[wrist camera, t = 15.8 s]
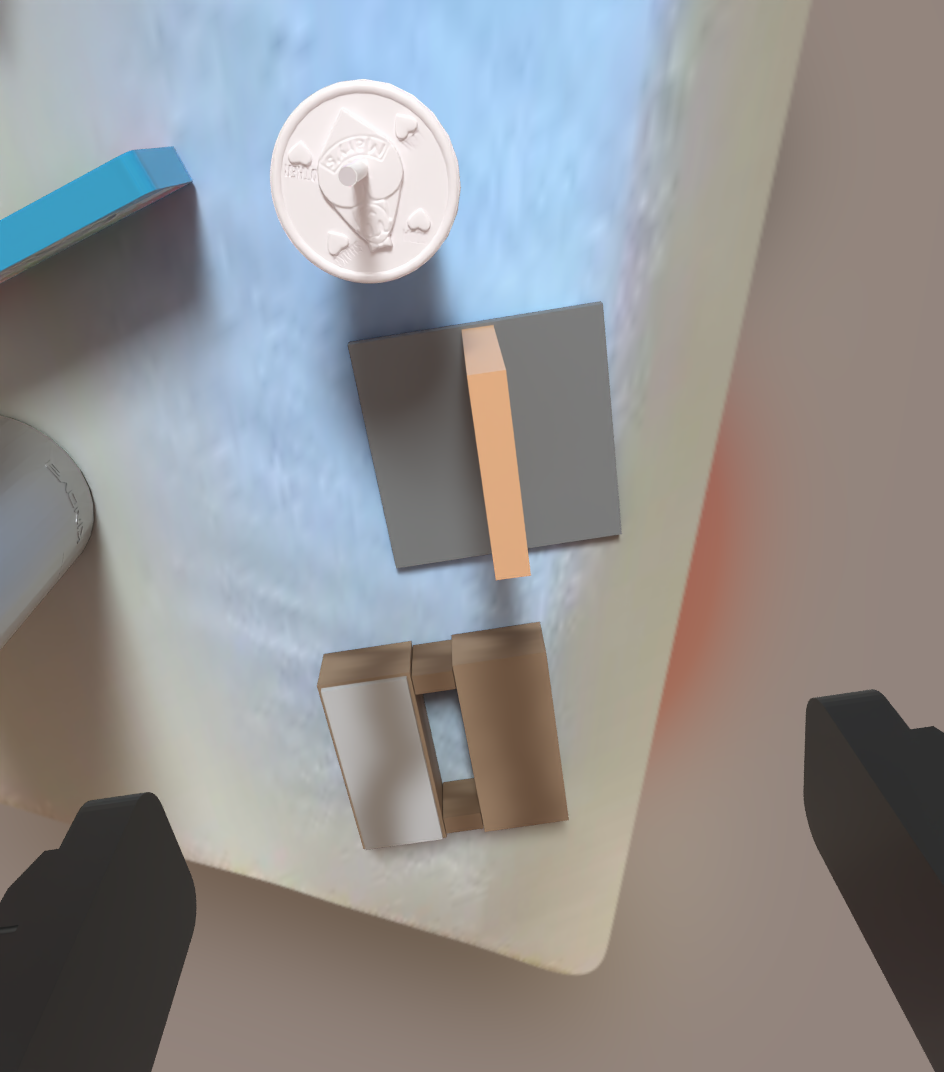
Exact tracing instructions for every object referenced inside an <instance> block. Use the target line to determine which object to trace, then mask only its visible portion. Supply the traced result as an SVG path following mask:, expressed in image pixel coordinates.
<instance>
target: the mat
mask: <svg viewBox="0 0 944 1072" xmlns="http://www.w3.org/2000/svg"><path fill="white" fill-rule="evenodd" d="M490 325H494V329H495V333H496V336H497V340H498V343H499V347H500V350H501V354H502V357H503V361H504V365H505V368H506V374H507V382H508V391H509V399H510V407H511V416H512V424H513V432H514V441H515V449H516V457H517V465H518V474H519V482H520V490H521V499H522V507H523V515H524V524H525V532H526V540H527V548H534V547H540V546H547V545H553V544H560V543H567V542H573V541H580V540H586V539H593V538H599V537H606V536H613V535H619V534H622V533H621V520H620V508H619V496H618V483H617V471H616V459H615V447H614V434H613V422H612V410H611V398H610V385H609V373H608V361H607V348H606V336H605V324H604V312H603V303H602V302H601V301H600V302H594V303H588V304H582V305H576V306H569V307H563V308H557V309H551V310H545V311H538V312H532V313H526V314H520V315H514V316H508V317H501V318H495V319H489V320H483V321H477V322H470V323H464V324H458V325H452V326H446V327H439V328H433V329H427V330H421V331H415V332H408V333H402V334H396V335H390V336H384V337H377V338H371V339H365V340H359V341H353V342H349V343H348V349H349V353H350V358H351V362H352V367H353V372H354V376H355V381H356V385H357V390H358V394H359V399H360V404H361V408H362V413H363V417H364V422H365V427H366V431H367V436H368V440H369V445H370V449H371V454H372V459H373V463H374V468H375V472H376V477H377V482H378V486H379V491H380V495H381V500H382V504H383V509H384V514H385V518H386V523H387V527H388V532H389V537H390V541H391V546H392V550H393V555H394V559H395V564H396V568H402V567H409V566H415V565H422V564H429V563H435V562H442V561H448V560H455V559H461V558H468V557H475V556H481V555H488V554H492V549H491V542H490V535H489V528H488V521H487V514H486V507H485V500H484V493H483V486H482V479H481V471H480V464H479V457H478V450H477V443H476V436H475V429H474V422H473V415H472V408H471V401H470V394H469V387H468V380H467V372H466V364H465V355H464V347H463V338H462V330H463V329H469V328H476V327H483V326H490Z"/></svg>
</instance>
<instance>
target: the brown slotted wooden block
mask: <svg viewBox="0 0 944 1072" xmlns="http://www.w3.org/2000/svg"><path fill="white" fill-rule="evenodd" d="M456 687H457V692H458V697H459V702H460V707H461V712H462V717H463V723H464V728H465V733H466V738H467V743H468V748H469V753H470V758H471V763H472V768H473V774H474V778H471V779H464V780H457V781H450V782H443V784H442V780H441V775H440V771H439V766H438V762H437V757H436V752H435V748H434V743H433V739H432V734H431V730H430V725H429V720H428V716H427V711H426V707H425V702H424V698H423V694H424V693H431V692H438V691H445V690H452V689H456ZM317 688H318V691H319V695H320V698H321V702H322V705H323V709H324V712H325V716H326V719H327V723H328V726H329V730H330V733H331V737H332V740H333V744H334V747H335V751H336V754H337V758H338V761H339V765H340V768H341V772H342V775H343V779H344V782H345V786H346V789H347V793H348V796H349V800H350V803H351V807H352V810H353V814H354V817H355V821H356V824H357V828H358V831H359V835H360V838H361V842H362V845H363V849H366V850H369V849H376V848H383V847H391V846H398V845H405V844H412V843H419V842H426V841H433V840H440V839H443V838H445V837H447V833H453V832H460V831H467V830H474V829H482V828H483V825H484V830H485V832H487V831H494V830H502V829H509V828H516V827H523V826H530V825H537V824H544V823H551V822H558V821H565V820H569V818H568V811H567V803H566V796H565V789H564V781H563V774H562V767H561V759H560V752H559V744H558V737H557V730H556V722H555V715H554V707H553V700H552V693H551V685H550V678H549V670H548V663H547V656H546V650H545V645H544V640H543V635H542V630H541V625H540V622H536V623H529V624H522V625H515V626H509V627H502V628H495V629H489V630H482V631H475V632H469V633H462V634H455V635H452V640H446V641H439V642H432V643H425V644H419V645H413V647H412V643H411V641H408V642H402V643H395V644H388V645H381V646H375V647H368V648H361V649H355V650H348V651H341V652H335V653H328V654H324V655H323V660H322V665H321V669H320V674H319V679H318V683H317Z"/></svg>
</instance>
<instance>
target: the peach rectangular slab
mask: <svg viewBox="0 0 944 1072" xmlns="http://www.w3.org/2000/svg"><path fill="white" fill-rule="evenodd" d="M462 338H463V347H464V355H465V364H466V372H467V380H468V387H469V394H470V401H471V408H472V415H473V422H474V429H475V436H476V443H477V450H478V457H479V464H480V471H481V479H482V486H483V493H484V500H485V507H486V514H487V521H488V528H489V535H490V542H491V549H492V556H493V563H494V570H495V577H496V580H501V579H509V578H516V577H523V576H531V573H530V565H529V557H528V548H527V540H526V532H525V524H524V515H523V507H522V499H521V490H520V482H519V474H518V465H517V457H516V449H515V441H514V432H513V424H512V416H511V407H510V399H509V391H508V382H507V374H506V368H505V365H504V361H503V357H502V354H501V350H500V347H499V343H498V340H497V336H496V333H495V329H494V325H490V326H483V327H476V328H469V329H463V330H462Z"/></svg>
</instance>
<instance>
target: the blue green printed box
mask: <svg viewBox="0 0 944 1072" xmlns="http://www.w3.org/2000/svg"><path fill="white" fill-rule="evenodd" d="M191 182H192V179H191V177H190V175H189V173H188V172H187V170H186V168H185V166H184V165H183V163H182V161H181V159H180V157H179V156H178V154H177V152H176V150H175V149H174V147H162V148H151V149H140V150H132V151H129V152H126V153H124V154H122V155H120V156H118V157H116V158H114V159H112V160H110V161H109V162H107V163H105V164H103V165H101V166H99V167H98V168H96V169H94V170H92V171H90V172H88V173H87V174H85V175H83V176H81V177H79V178H77V179H76V180H74V181H72V182H70V183H68V184H66V185H64V186H63V187H61V188H59V189H57V190H55V191H53V192H52V193H50V194H48V195H46V196H44V197H42V198H40V199H39V200H37V201H35V202H33V203H31V204H29V205H28V206H26V207H24V208H22V209H20V210H18V211H17V212H15V213H13V214H11V215H9V216H7V217H5V218H4V219H2V220H0V283H2V282H4V281H6V280H8V279H10V278H12V277H13V276H15V275H17V274H19V273H21V272H23V271H25V270H27V269H29V268H30V267H32V266H34V265H36V264H38V263H40V262H42V261H44V260H46V259H47V258H49V257H51V256H53V255H55V254H57V253H59V252H61V251H63V250H65V249H66V248H68V247H70V246H72V245H74V244H76V243H78V242H80V241H82V240H83V239H85V238H87V237H89V236H91V235H93V234H95V233H97V232H99V231H100V230H102V229H104V228H106V227H108V226H110V225H112V224H114V223H116V222H117V221H119V220H121V219H123V218H125V217H127V216H129V215H131V214H133V213H134V212H136V211H138V210H140V209H142V208H144V207H146V206H148V205H150V204H152V203H153V202H155V201H157V200H159V199H161V198H163V197H165V196H167V195H169V194H170V193H172V192H174V191H176V190H178V189H180V188H182V187H184V186H186V185H187V184H189V183H191Z"/></svg>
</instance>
